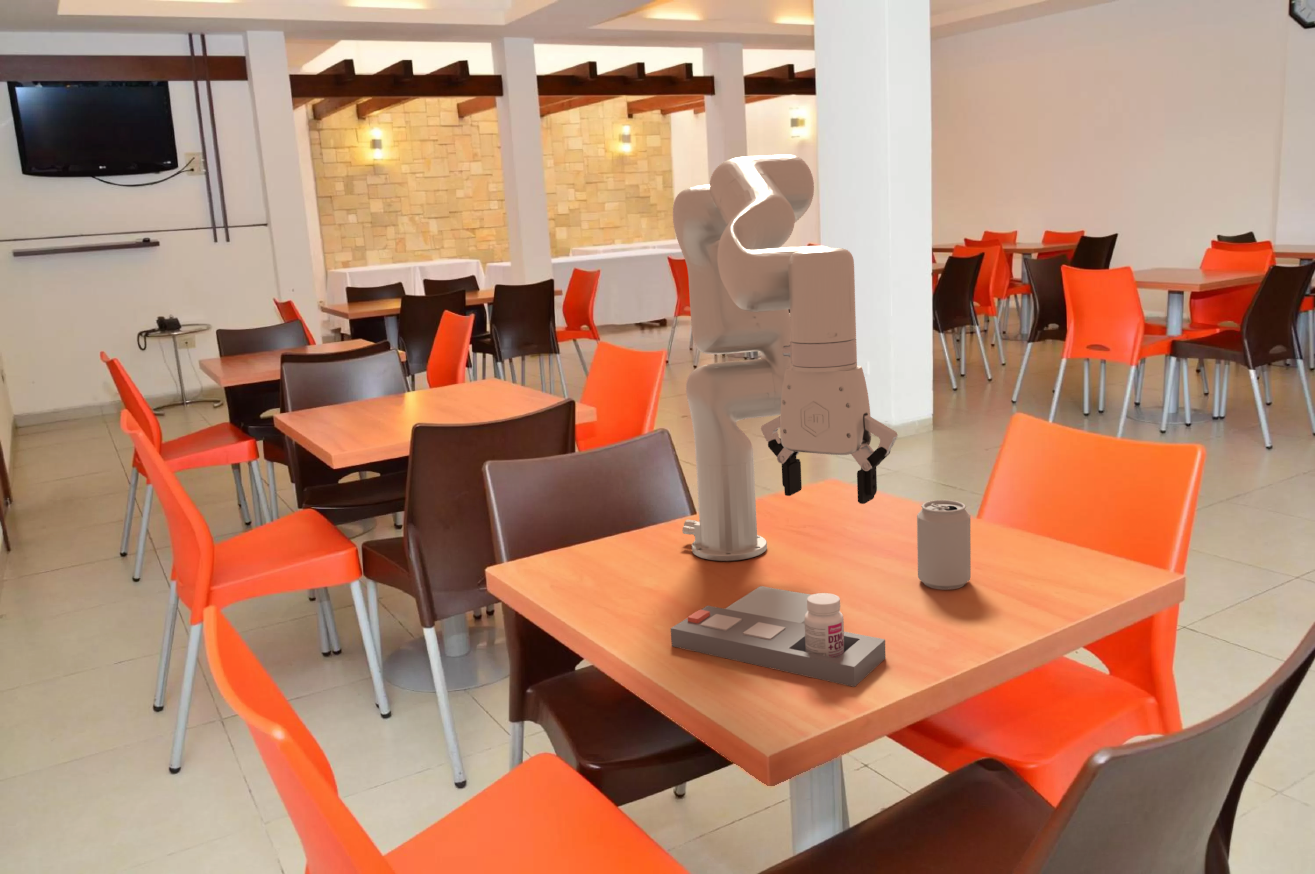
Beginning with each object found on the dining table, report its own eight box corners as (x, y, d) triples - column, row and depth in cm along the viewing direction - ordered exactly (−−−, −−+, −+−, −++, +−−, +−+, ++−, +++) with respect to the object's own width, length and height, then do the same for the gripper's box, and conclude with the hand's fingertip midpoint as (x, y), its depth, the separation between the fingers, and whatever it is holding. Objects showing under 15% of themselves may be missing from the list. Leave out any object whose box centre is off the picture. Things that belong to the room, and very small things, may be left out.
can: (972, 591, 148) (972, 511, 146) (918, 591, 150) (917, 511, 147) (968, 574, 155) (968, 497, 153) (916, 573, 157) (915, 497, 155)
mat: (718, 616, 145) (717, 613, 145) (760, 589, 155) (760, 585, 155) (794, 631, 138) (794, 627, 138) (834, 601, 148) (833, 598, 148)
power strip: (671, 646, 136) (670, 623, 136) (708, 622, 143) (707, 601, 143) (854, 686, 121) (853, 662, 121) (885, 658, 128) (885, 634, 128)
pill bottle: (835, 673, 125) (833, 607, 123) (799, 666, 127) (797, 602, 126) (850, 658, 129) (848, 594, 127) (815, 652, 131) (812, 589, 130)
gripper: (744, 358, 123) (750, 497, 127) (880, 361, 113) (883, 512, 117) (775, 350, 129) (780, 483, 133) (906, 352, 119) (909, 496, 122)
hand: (828, 497), depth 125 cm, fingers open, 9 cm apart
